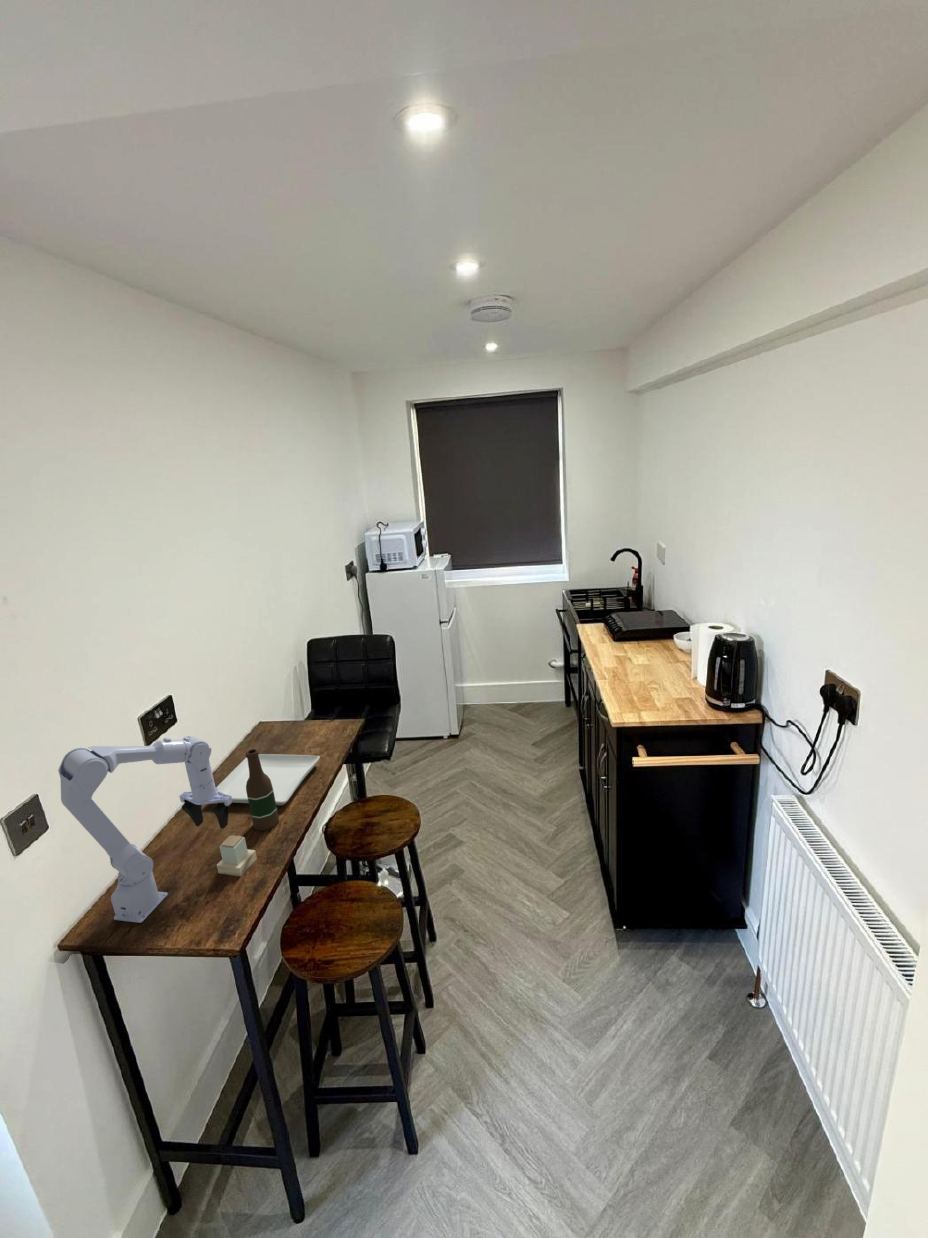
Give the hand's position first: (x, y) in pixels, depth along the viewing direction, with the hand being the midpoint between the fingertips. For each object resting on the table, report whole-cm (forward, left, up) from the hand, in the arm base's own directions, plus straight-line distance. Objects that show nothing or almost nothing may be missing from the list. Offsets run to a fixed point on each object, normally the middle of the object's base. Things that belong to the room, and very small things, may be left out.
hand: (212, 825), depth 158 cm
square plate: (+35, +6, -11) cm, 38 cm away
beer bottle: (+16, -5, -11) cm, 20 cm away
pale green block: (-2, -7, -8) cm, 11 cm away
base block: (-2, -7, -11) cm, 13 cm away
